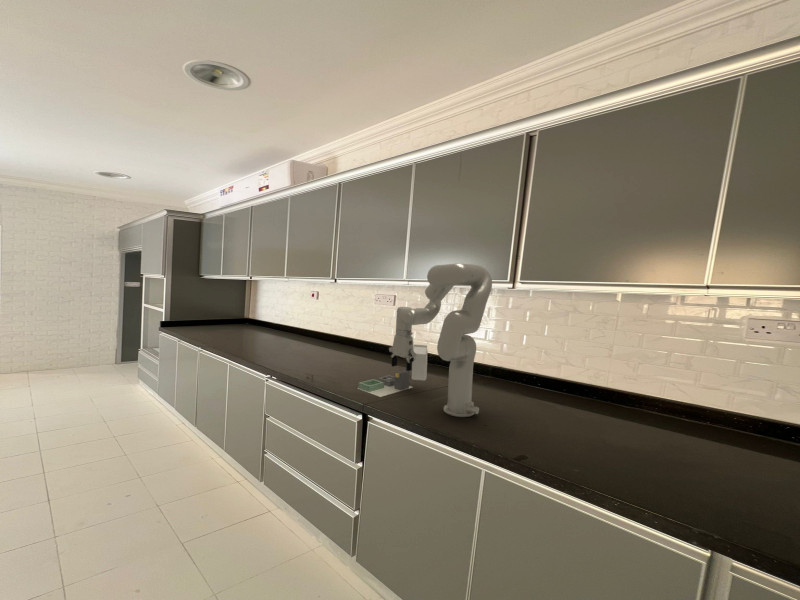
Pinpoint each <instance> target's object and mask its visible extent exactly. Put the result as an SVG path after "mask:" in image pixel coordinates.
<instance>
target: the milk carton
mask: <svg viewBox="0 0 800 600" xmlns="http://www.w3.org/2000/svg"><path fill="white" fill-rule="evenodd" d="M413 347H414V352H415V353H416V354H417V356H416V358H415V360H414V361H413V362H412V370H411V380H415V381H423V382H424V381H427V377H428V376H427V373H428V372H427V371H428V351H429V350H428V345H425V344H424V345H423V344H413Z"/></svg>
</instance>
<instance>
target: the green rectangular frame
mask: <svg viewBox="0 0 800 600" xmlns="http://www.w3.org/2000/svg"><path fill="white" fill-rule="evenodd" d="M358 388H360V389H362V390H361V391H363V390H365V391H368V392H371V391H375V390H378V389H382V388H384V382H381V381H378V379H375V378H372V379H369V380H364V381H360V382H358ZM360 389H359V390H360ZM365 391H364V392H365ZM368 392H367V393H368Z"/></svg>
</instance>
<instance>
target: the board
mask: <svg viewBox="0 0 800 600" xmlns="http://www.w3.org/2000/svg"><path fill="white" fill-rule="evenodd" d="M377 380H378V381H381V382H384V388H382V389H378V390H375V391H371V392H368V391H365V390H362V389H360V388H359V387H357V389H358V390H360V391H363V392H365V393H368V394H371V395H373V396H377V397H379V398H382V397H384V396H389V395H392V394H396V393H400V392H402V391H406V390H409V389H412V388H413V386H411V385H409V388H407V389H404V390H398V389H395V388H394V386H395V376H393V375H390V374H389V375H385V376H381V377H378V378H377Z"/></svg>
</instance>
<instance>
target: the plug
mask: <svg viewBox="0 0 800 600" xmlns="http://www.w3.org/2000/svg"><path fill="white" fill-rule="evenodd" d="M410 372H411V370H410V371H406V370H405V369H402V370H398V371H397V370H396V371H394V377H395V386H394V388H395V389H398V390H402V391H405V390H404V389H406V390H408V389H407V388H409V386H410V375H411V374H410ZM409 389H410V388H409Z"/></svg>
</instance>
